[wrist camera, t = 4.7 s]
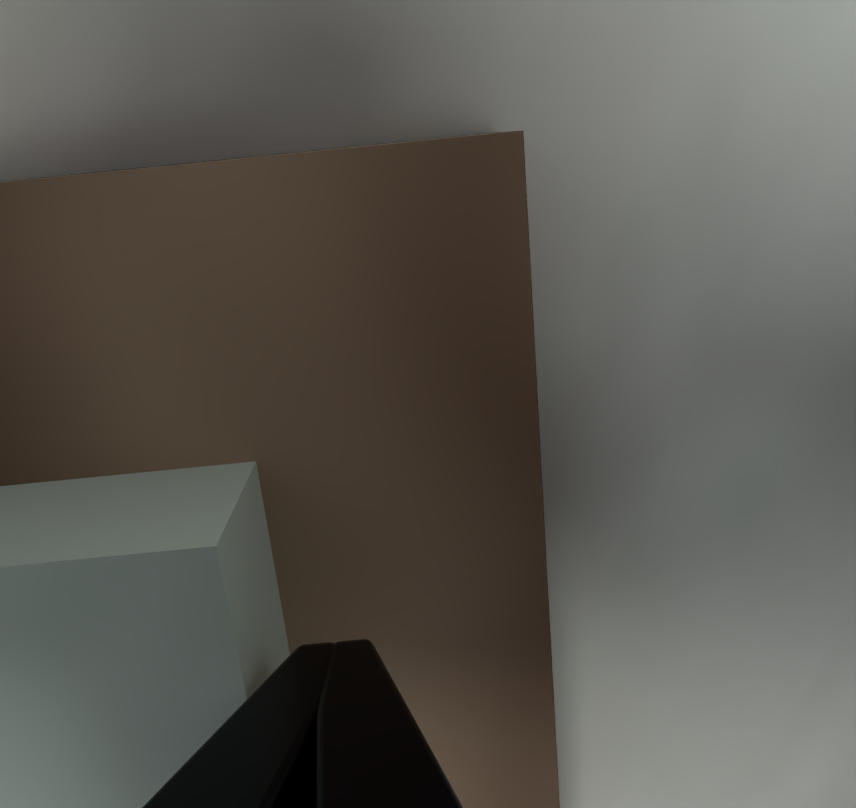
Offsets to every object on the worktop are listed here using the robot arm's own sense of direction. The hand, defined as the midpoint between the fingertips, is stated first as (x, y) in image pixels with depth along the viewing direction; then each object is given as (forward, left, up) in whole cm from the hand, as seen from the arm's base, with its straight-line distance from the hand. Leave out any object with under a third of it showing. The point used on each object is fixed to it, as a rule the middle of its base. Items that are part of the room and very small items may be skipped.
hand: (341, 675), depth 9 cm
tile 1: (+3, 0, -1) cm, 3 cm away
